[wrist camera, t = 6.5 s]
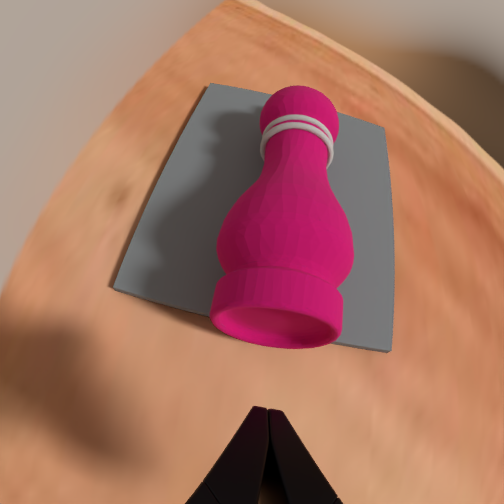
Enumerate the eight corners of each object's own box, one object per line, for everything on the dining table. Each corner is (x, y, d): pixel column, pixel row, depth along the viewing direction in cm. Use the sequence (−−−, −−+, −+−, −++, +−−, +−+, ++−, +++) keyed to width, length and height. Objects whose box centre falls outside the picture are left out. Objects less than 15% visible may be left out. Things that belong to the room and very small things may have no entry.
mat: (386, 352, 19) (391, 351, 19) (115, 290, 19) (112, 287, 19) (382, 131, 30) (384, 127, 29) (210, 87, 29) (210, 82, 29)
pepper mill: (180, 324, 17) (245, 104, 27) (293, 358, 19) (312, 141, 29) (238, 281, 11) (287, 44, 21) (385, 333, 13) (361, 91, 23)
